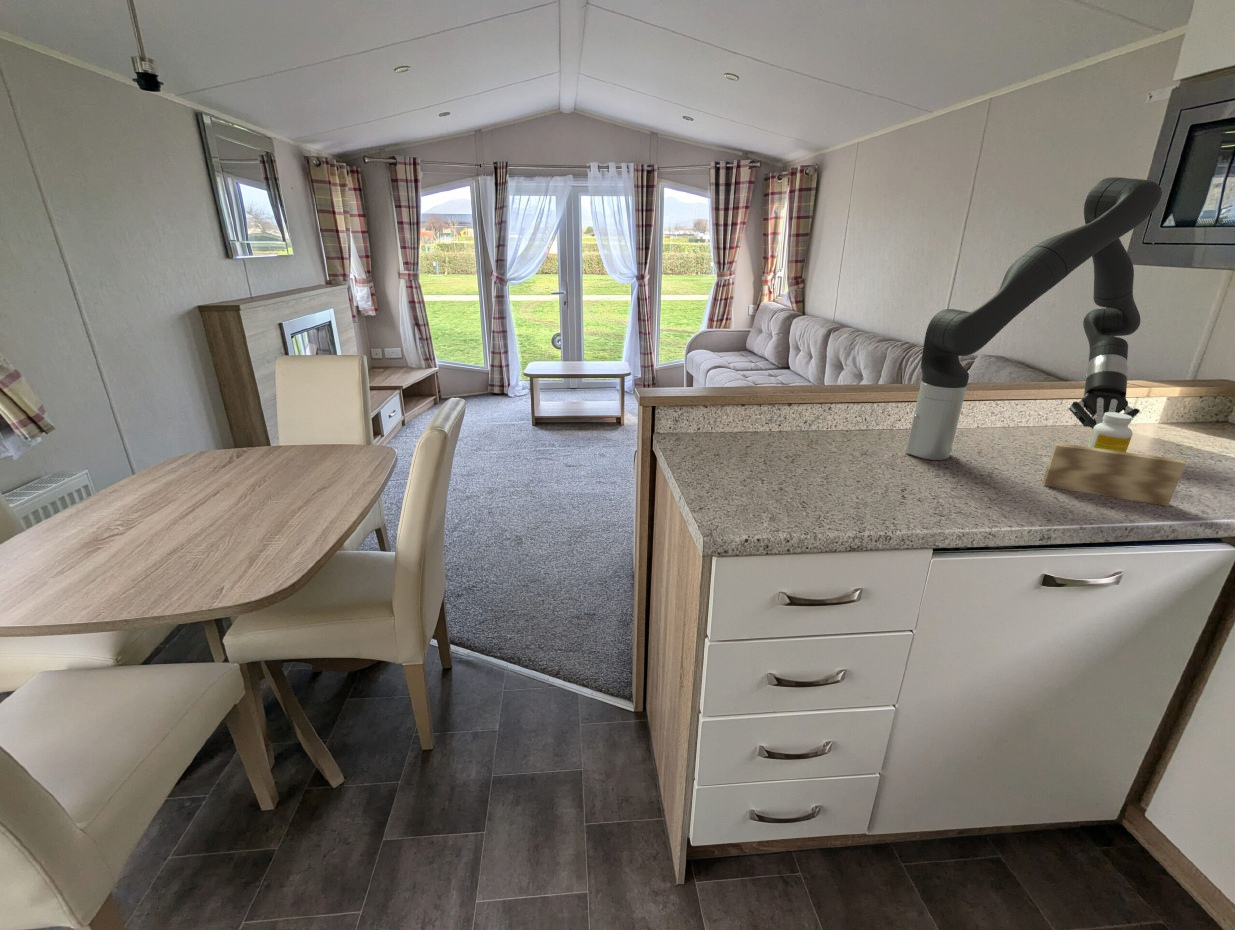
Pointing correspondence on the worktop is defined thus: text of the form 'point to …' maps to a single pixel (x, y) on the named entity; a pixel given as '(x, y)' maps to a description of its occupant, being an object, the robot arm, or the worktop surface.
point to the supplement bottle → (1112, 432)
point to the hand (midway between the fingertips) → (1100, 443)
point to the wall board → (1113, 473)
